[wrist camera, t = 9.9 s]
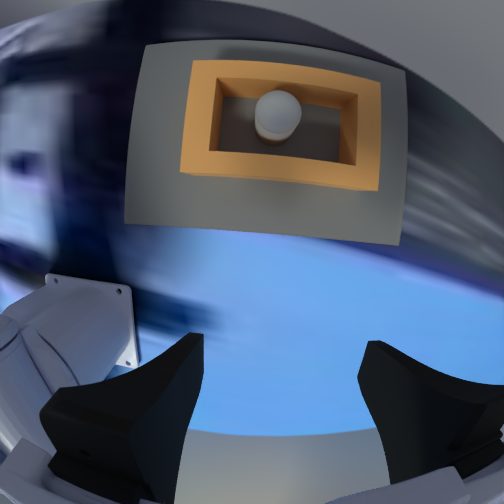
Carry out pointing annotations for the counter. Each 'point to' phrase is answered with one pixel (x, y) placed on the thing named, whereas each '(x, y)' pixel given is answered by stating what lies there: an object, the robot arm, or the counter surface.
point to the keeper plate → (261, 149)
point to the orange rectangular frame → (305, 91)
